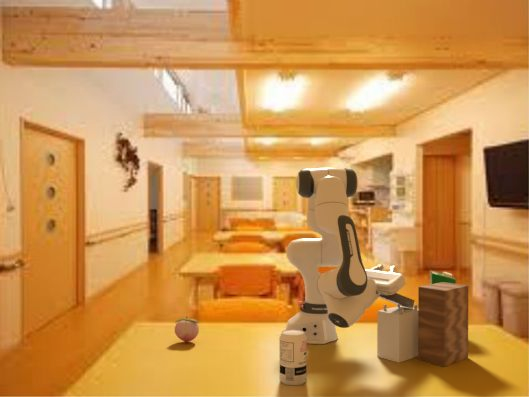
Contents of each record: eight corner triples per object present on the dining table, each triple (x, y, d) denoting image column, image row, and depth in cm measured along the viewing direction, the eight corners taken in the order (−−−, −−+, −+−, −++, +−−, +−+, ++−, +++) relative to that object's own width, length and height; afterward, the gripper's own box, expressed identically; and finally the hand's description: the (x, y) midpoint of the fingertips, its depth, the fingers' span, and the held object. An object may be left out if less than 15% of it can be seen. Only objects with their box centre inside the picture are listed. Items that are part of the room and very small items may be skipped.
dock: (398, 362, 194) (399, 309, 194) (377, 356, 201) (377, 305, 201) (422, 354, 203) (422, 304, 203) (401, 349, 210) (401, 300, 210)
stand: (444, 366, 190) (444, 290, 189) (418, 359, 197) (418, 286, 197) (467, 357, 200) (468, 285, 199) (442, 351, 207) (442, 282, 207)
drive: (378, 295, 190) (380, 286, 190) (367, 293, 193) (369, 284, 193) (412, 308, 204) (414, 300, 205) (401, 306, 207) (403, 297, 208)
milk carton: (455, 337, 227) (455, 273, 226) (431, 336, 228) (431, 273, 228) (452, 331, 235) (453, 270, 235) (429, 330, 237) (430, 269, 237)
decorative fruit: (201, 339, 223) (201, 313, 223) (196, 345, 215) (196, 318, 215) (177, 339, 224) (177, 313, 224) (172, 344, 216) (172, 318, 216)
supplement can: (278, 377, 179) (278, 329, 179) (304, 376, 180) (304, 328, 180) (281, 386, 171) (281, 336, 171) (308, 385, 172) (308, 335, 171)
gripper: (388, 287, 180) (411, 262, 188) (339, 279, 195) (361, 256, 203) (394, 303, 182) (416, 277, 190) (345, 294, 198) (367, 271, 205)
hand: (387, 266), depth 197 cm, fingers open, 4 cm apart
